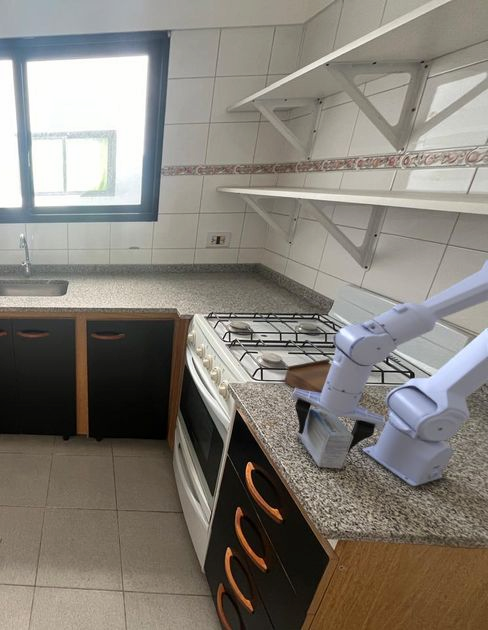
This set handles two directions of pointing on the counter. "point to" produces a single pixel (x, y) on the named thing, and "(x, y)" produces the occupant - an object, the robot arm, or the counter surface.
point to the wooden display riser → (308, 375)
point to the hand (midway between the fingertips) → (323, 439)
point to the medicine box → (326, 438)
